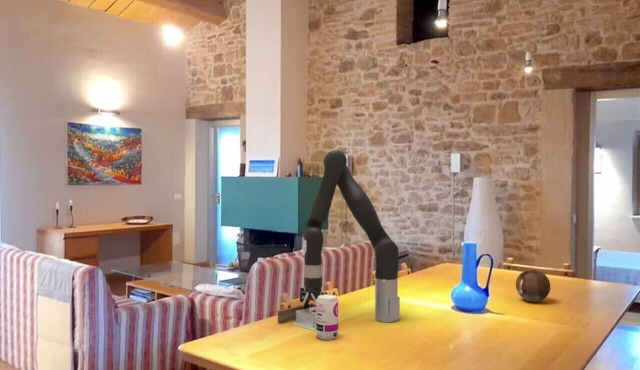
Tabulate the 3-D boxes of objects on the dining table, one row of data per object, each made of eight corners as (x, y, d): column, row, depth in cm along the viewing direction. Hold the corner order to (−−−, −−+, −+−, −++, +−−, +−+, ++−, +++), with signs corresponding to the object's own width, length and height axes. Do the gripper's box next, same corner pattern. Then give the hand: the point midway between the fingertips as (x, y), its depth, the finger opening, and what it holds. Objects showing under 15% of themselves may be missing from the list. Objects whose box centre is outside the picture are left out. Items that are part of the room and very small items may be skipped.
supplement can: (341, 334, 200) (340, 294, 200) (334, 341, 192) (334, 299, 192) (320, 332, 203) (320, 293, 202) (313, 339, 195) (313, 298, 194)
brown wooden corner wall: (334, 320, 219) (334, 308, 219) (299, 330, 206) (299, 317, 206) (312, 314, 229) (311, 302, 229) (277, 323, 216) (277, 310, 216)
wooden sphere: (544, 298, 257) (544, 267, 257) (554, 305, 242) (555, 272, 242) (512, 297, 259) (512, 266, 258) (520, 305, 244) (520, 272, 243)
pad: (334, 324, 214) (334, 323, 214) (312, 330, 206) (312, 329, 206) (313, 318, 223) (313, 317, 223) (291, 324, 214) (291, 323, 214)
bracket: (314, 318, 221) (314, 306, 221) (331, 323, 214) (331, 311, 214) (295, 323, 214) (295, 311, 214) (312, 328, 207) (312, 315, 207)
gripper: (332, 276, 215) (332, 316, 216) (308, 272, 226) (308, 310, 226) (318, 279, 210) (318, 320, 211) (294, 274, 221) (295, 313, 221)
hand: (313, 315), depth 218 cm, fingers open, 8 cm apart
